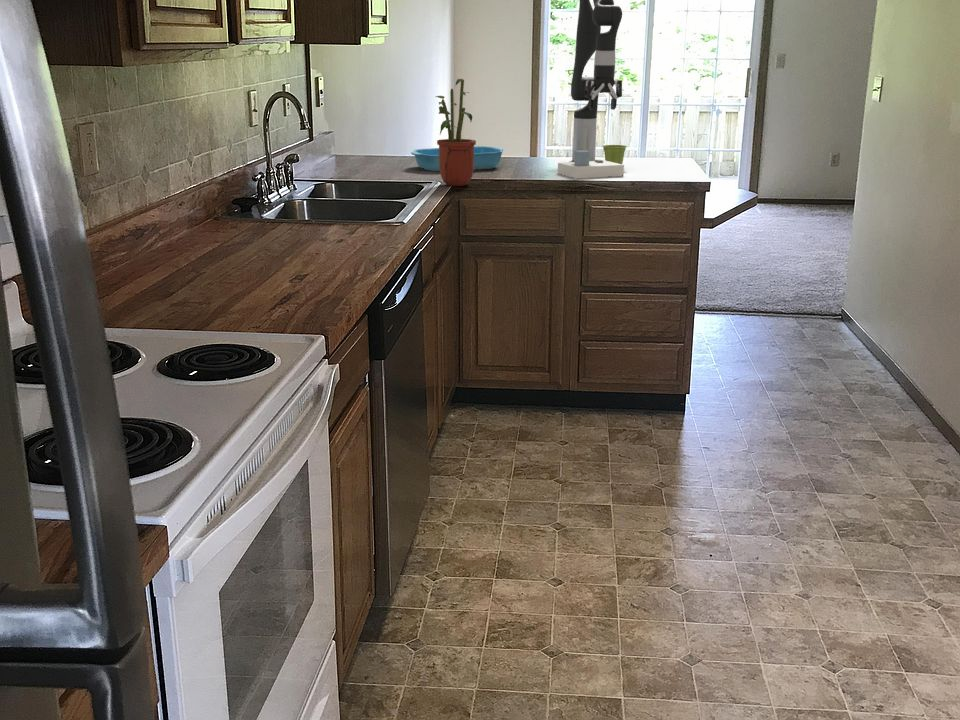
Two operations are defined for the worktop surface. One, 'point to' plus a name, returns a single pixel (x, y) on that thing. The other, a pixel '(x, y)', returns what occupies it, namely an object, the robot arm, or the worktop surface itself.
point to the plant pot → (614, 153)
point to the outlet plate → (591, 169)
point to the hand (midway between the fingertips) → (602, 109)
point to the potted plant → (455, 146)
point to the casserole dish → (482, 157)
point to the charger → (581, 158)
